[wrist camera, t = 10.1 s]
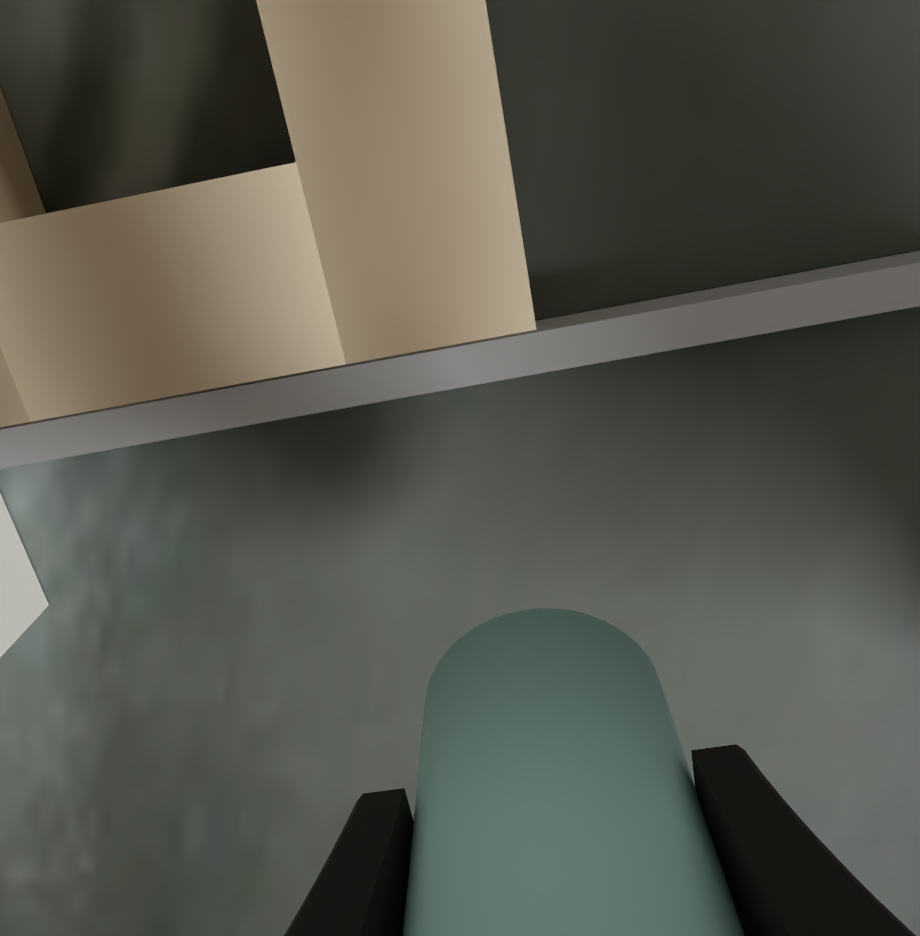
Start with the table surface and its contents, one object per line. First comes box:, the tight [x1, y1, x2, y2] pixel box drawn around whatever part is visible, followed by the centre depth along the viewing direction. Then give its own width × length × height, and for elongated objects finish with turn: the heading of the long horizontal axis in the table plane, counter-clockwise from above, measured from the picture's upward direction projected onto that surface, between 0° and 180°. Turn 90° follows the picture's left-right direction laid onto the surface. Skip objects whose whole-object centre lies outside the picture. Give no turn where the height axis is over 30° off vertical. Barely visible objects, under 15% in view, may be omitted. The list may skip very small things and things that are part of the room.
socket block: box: [0, 0, 537, 427], centre depth 13 cm, size 12×12×3 cm
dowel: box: [403, 608, 745, 936], centre depth 10 cm, size 4×4×7 cm
